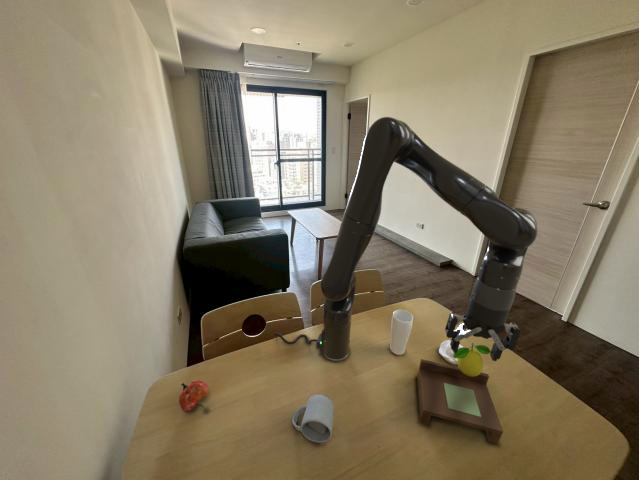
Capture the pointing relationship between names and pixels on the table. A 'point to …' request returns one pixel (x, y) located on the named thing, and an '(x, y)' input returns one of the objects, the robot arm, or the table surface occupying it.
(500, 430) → the wooden serving tray
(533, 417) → the table surface
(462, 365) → the lemon
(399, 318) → the drinking glass
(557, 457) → the table surface
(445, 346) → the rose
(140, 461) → the table surface
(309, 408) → the ceramic mug
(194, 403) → the red rounded piece
